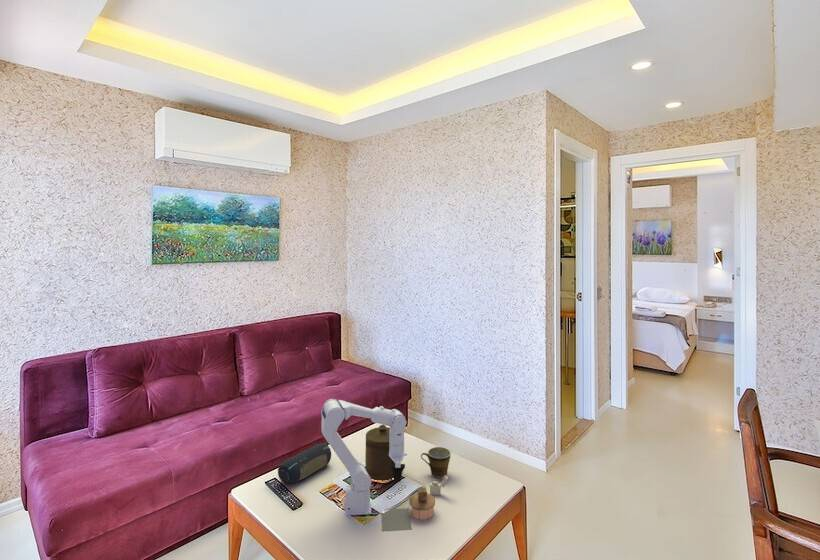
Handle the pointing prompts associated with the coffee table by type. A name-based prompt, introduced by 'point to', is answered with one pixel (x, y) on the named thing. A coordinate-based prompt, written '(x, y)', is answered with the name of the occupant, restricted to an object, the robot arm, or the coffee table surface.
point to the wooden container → (378, 454)
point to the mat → (396, 520)
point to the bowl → (422, 513)
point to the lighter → (437, 486)
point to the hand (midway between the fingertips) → (396, 475)
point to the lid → (422, 500)
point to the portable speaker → (304, 463)
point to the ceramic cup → (438, 461)
